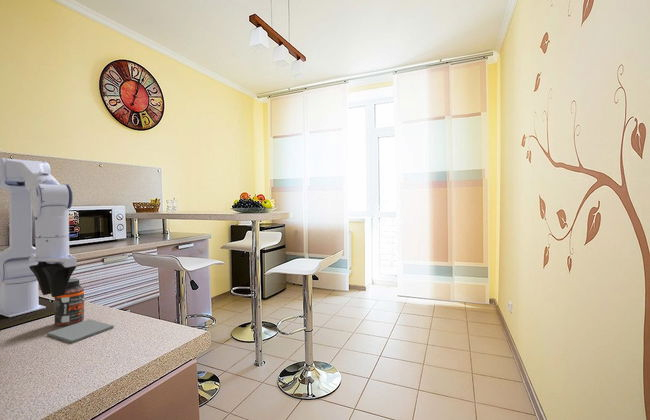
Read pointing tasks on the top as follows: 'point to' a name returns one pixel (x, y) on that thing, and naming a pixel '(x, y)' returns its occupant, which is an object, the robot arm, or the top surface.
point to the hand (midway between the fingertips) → (53, 294)
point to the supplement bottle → (70, 305)
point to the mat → (80, 330)
